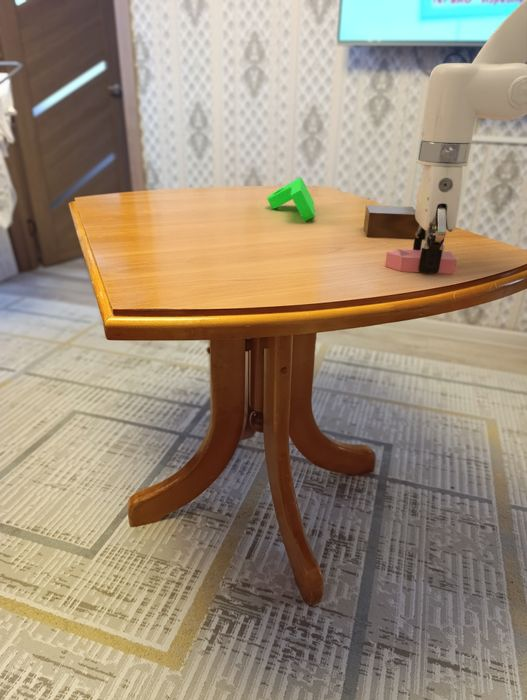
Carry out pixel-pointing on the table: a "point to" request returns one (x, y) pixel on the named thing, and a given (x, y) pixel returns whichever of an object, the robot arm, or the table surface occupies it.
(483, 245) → the table surface
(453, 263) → the boat
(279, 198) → the bracket
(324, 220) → the table surface
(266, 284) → the table surface
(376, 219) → the block
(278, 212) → the table surface
